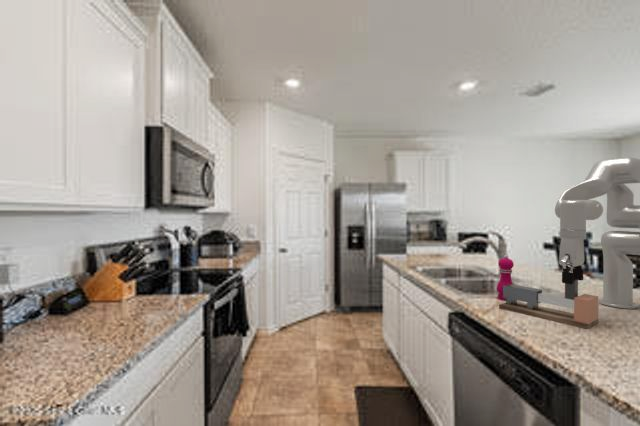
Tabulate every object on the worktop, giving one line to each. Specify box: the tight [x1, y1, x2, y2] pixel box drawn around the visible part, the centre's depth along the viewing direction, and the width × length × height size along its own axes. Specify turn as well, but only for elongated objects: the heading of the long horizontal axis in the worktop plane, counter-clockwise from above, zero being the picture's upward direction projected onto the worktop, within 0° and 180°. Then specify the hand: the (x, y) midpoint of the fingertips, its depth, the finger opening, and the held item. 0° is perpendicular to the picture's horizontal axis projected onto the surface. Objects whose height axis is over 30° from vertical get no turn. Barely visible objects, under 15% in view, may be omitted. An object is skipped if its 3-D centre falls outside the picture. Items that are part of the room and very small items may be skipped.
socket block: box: [573, 293, 599, 324], centre depth 119 cm, size 10×4×8 cm, turn 125°
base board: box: [498, 301, 600, 329], centre depth 130 cm, size 11×30×2 cm, turn 35°
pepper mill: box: [496, 254, 515, 301], centre depth 153 cm, size 7×7×20 cm
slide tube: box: [537, 279, 579, 310], centre depth 126 cm, size 3×19×10 cm, turn 35°
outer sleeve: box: [503, 283, 543, 310], centre depth 137 cm, size 5×12×8 cm, turn 35°
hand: (572, 281), depth 123 cm, fingers open, 9 cm apart
